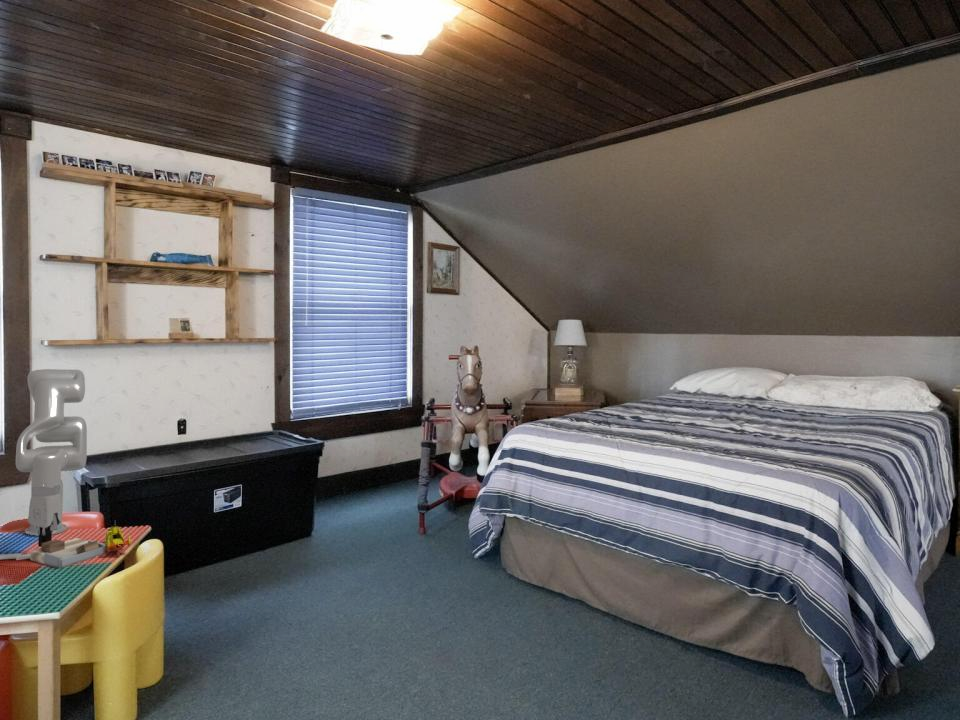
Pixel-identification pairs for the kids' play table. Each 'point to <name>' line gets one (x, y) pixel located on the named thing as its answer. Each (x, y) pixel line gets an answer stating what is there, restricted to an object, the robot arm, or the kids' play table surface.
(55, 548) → the tile
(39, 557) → the plate
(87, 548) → the tile
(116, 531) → the toy car
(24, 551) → the kids' play table surface
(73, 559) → the box
